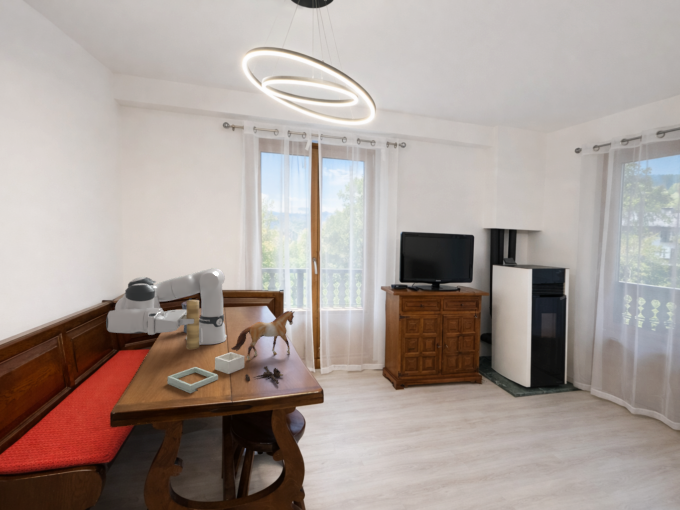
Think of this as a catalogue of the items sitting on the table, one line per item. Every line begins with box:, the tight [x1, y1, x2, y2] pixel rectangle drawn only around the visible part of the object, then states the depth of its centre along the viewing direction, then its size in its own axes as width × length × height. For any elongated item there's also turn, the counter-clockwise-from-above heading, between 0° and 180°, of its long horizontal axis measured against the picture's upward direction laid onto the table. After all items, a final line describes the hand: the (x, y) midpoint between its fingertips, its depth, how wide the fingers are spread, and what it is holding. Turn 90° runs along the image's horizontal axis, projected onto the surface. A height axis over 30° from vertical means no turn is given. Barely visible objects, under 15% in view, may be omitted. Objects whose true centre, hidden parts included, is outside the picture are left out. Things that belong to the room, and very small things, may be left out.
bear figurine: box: [244, 365, 284, 385], centre depth 135 cm, size 18×4×14 cm
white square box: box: [214, 351, 245, 375], centre depth 142 cm, size 8×8×6 cm
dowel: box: [186, 299, 200, 350], centre depth 128 cm, size 4×4×18 cm
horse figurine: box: [230, 310, 295, 361], centre depth 160 cm, size 31×8×21 cm, turn 123°
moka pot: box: [181, 297, 201, 334], centre depth 199 cm, size 10×15×20 cm, turn 172°
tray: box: [167, 366, 219, 394], centre depth 130 cm, size 14×12×3 cm
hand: (195, 319), depth 128 cm, fingers closed on dowel, 4 cm apart
